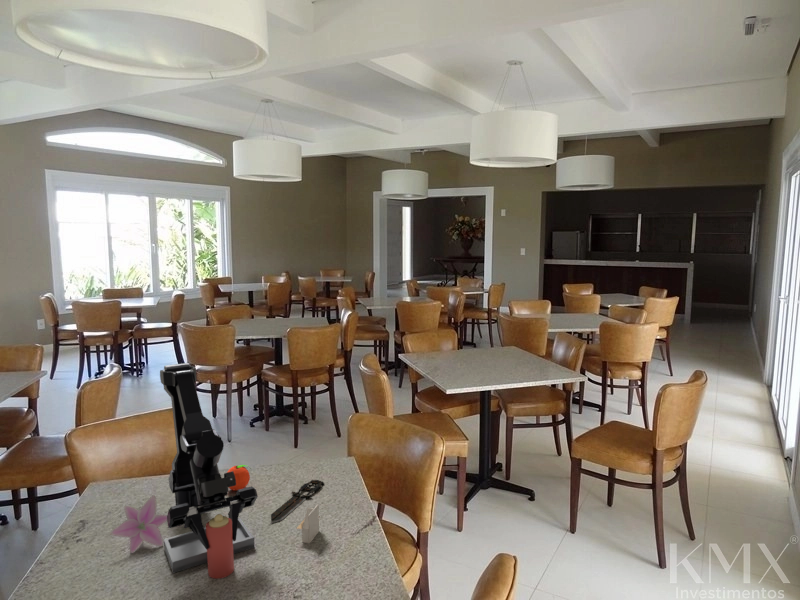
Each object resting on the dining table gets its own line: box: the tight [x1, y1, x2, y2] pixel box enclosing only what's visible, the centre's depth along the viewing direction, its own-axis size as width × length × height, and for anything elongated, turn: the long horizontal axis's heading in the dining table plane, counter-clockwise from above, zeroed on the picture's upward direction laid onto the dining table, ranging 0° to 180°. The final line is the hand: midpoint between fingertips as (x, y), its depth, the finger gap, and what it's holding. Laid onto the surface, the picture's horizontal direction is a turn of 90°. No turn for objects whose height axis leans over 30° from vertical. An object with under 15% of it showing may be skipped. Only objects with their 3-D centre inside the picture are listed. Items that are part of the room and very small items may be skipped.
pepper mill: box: [205, 513, 235, 579], centre depth 118 cm, size 5×5×13 cm
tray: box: [163, 517, 255, 574], centre depth 128 cm, size 11×18×2 cm, turn 123°
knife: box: [270, 479, 325, 525], centre depth 150 cm, size 25×6×1 cm, turn 154°
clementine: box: [226, 464, 252, 492], centre depth 158 cm, size 8×7×7 cm
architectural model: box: [296, 504, 320, 544], centre depth 133 cm, size 3×7×7 cm, turn 165°
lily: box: [109, 495, 168, 554], centre depth 130 cm, size 12×12×10 cm
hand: (221, 544), depth 117 cm, fingers closed on pepper mill, 5 cm apart
